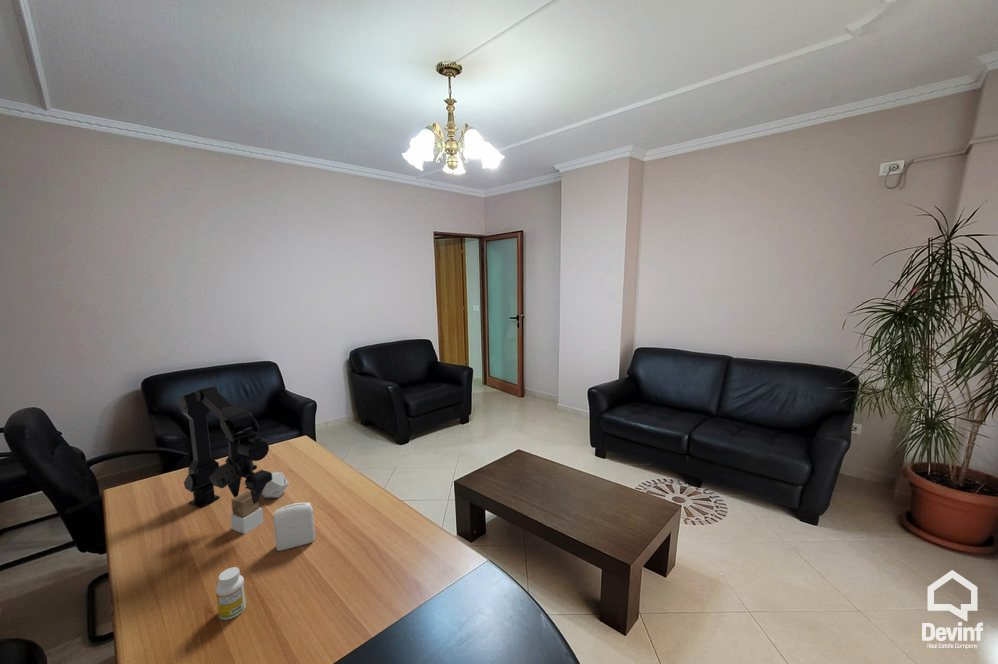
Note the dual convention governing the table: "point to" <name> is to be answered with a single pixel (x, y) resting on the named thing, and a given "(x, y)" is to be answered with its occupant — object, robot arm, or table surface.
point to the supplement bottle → (230, 593)
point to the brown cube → (244, 505)
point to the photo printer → (294, 525)
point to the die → (275, 486)
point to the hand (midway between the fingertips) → (245, 499)
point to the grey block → (247, 521)
